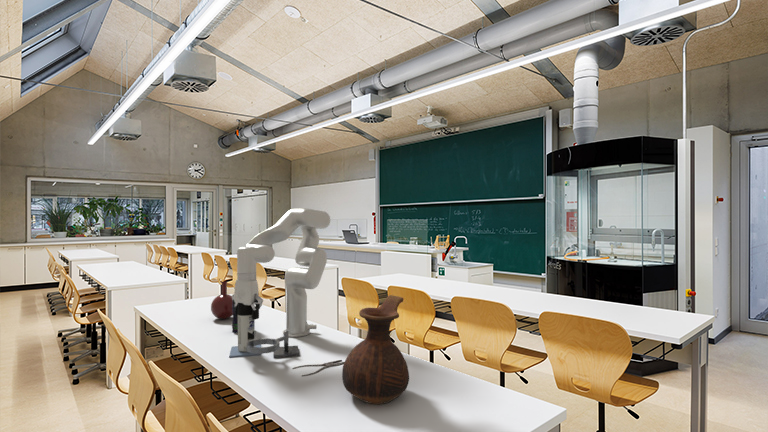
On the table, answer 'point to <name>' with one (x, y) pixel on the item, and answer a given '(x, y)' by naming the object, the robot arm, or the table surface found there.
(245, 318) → the spray can
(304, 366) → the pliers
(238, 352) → the mat
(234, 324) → the storage jar
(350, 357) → the jug
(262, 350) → the ring stand
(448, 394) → the table surface
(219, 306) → the round-bottom flask
